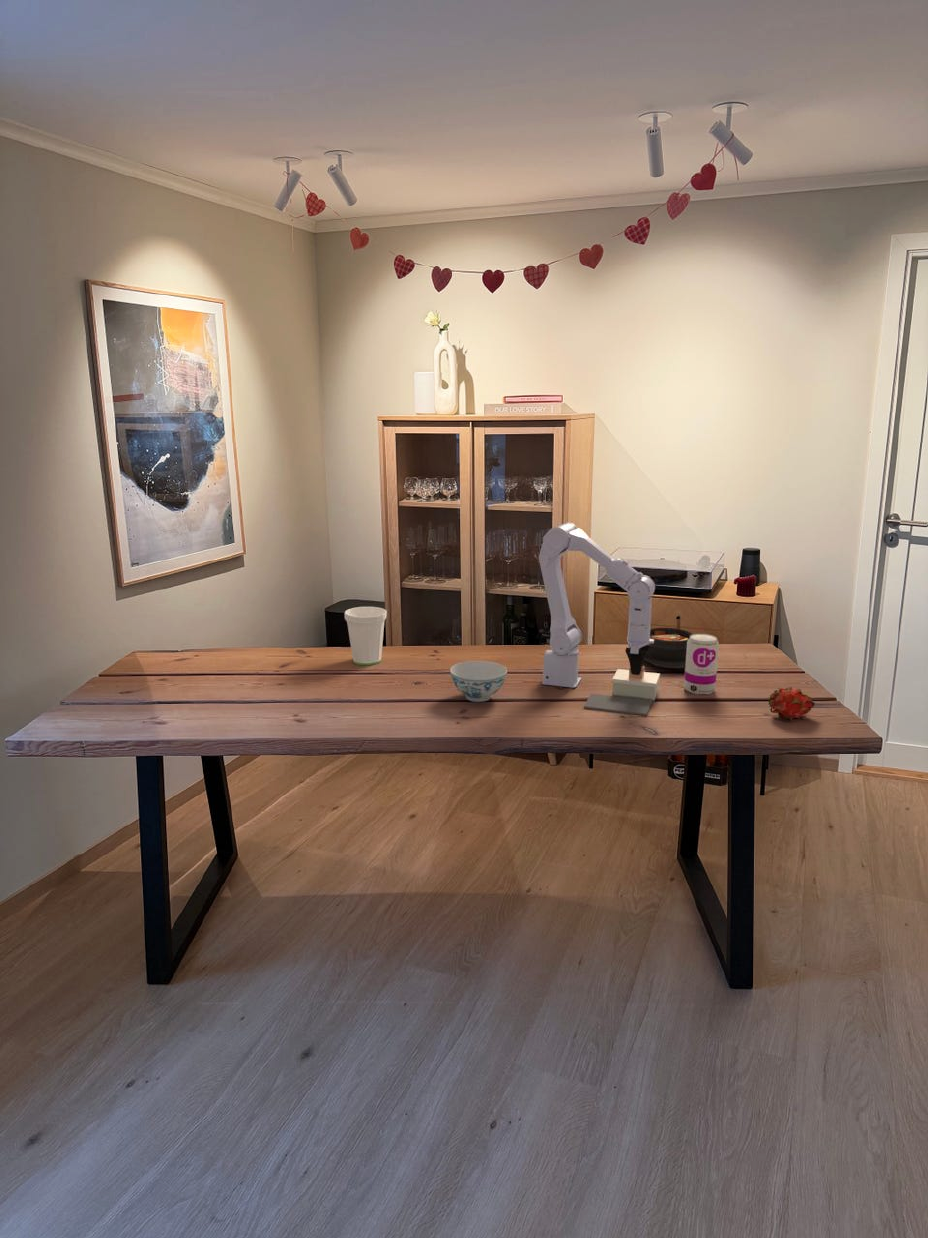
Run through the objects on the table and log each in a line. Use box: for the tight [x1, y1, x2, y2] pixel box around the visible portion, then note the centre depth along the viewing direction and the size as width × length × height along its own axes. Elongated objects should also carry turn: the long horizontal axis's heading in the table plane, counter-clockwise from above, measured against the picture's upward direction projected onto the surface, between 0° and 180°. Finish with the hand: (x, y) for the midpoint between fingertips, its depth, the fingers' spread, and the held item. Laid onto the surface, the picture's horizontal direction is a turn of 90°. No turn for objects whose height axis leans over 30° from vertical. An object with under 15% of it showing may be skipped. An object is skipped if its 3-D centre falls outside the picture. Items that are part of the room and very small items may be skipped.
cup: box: [344, 606, 387, 666], centre depth 256 cm, size 12×12×15 cm
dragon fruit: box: [768, 686, 816, 721], centre depth 215 cm, size 8×8×12 cm
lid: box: [611, 665, 661, 687], centre depth 230 cm, size 11×8×4 cm
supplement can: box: [683, 633, 720, 695], centre depth 232 cm, size 8×8×15 cm
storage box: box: [611, 680, 660, 702], centre depth 231 cm, size 11×8×4 cm
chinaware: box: [449, 660, 508, 703], centre depth 227 cm, size 15×15×8 cm
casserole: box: [644, 627, 694, 669], centre depth 258 cm, size 25×19×8 cm
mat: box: [583, 693, 653, 717], centre depth 223 cm, size 16×10×1 cm, turn 71°
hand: (636, 671), depth 230 cm, fingers closed on lid, 3 cm apart
